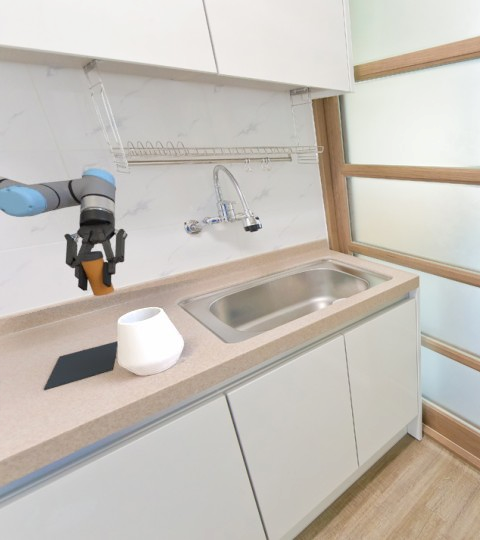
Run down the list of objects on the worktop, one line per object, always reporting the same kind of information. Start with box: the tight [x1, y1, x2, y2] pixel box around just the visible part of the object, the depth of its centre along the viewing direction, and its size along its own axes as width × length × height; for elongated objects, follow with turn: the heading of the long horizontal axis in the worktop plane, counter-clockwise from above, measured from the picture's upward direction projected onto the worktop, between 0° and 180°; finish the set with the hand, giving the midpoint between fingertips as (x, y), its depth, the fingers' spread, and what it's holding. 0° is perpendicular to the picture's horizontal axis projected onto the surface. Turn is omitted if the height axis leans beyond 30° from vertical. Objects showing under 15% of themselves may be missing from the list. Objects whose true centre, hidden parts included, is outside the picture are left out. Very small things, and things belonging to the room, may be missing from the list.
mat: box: [43, 340, 118, 391], centre depth 84 cm, size 16×12×1 cm
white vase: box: [116, 306, 185, 377], centre depth 81 cm, size 13×13×14 cm
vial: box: [77, 250, 115, 297], centre depth 90 cm, size 5×5×12 cm
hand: (94, 286), depth 88 cm, fingers closed on vial, 4 cm apart
